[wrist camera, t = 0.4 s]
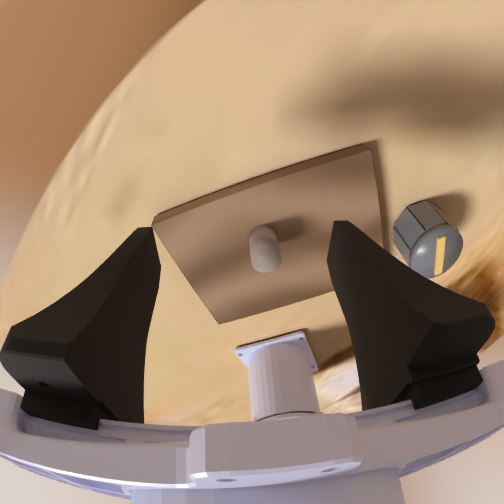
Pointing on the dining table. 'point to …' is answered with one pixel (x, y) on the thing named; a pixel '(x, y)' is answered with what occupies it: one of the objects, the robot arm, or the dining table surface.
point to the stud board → (292, 217)
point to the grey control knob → (427, 239)
